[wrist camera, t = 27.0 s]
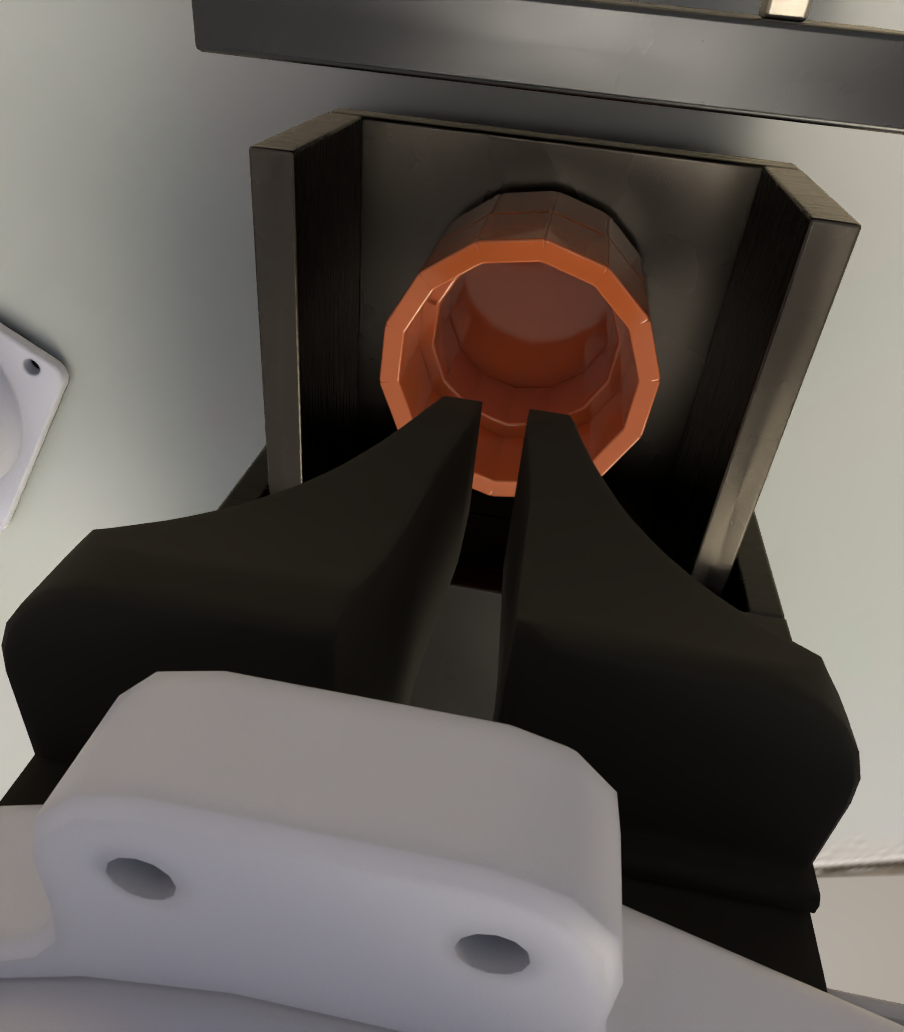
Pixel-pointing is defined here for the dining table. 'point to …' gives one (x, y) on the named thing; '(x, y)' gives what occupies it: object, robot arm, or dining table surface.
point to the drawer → (583, 176)
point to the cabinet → (477, 611)
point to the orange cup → (527, 330)
